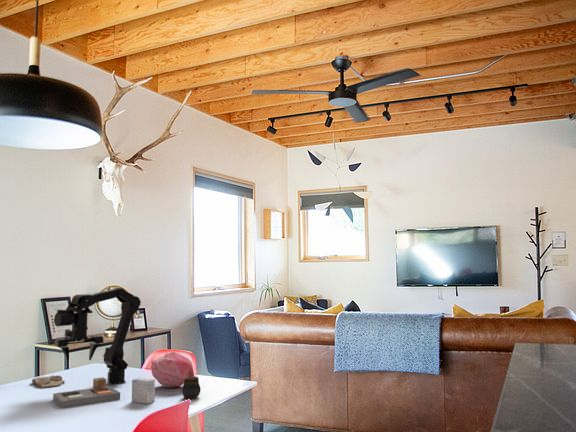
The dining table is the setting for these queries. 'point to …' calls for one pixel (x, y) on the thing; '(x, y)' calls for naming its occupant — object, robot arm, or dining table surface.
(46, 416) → the dining table surface
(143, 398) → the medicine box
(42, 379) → the fossil
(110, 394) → the socket plate
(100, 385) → the plug
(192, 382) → the mate gourd
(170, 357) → the decorative rock
